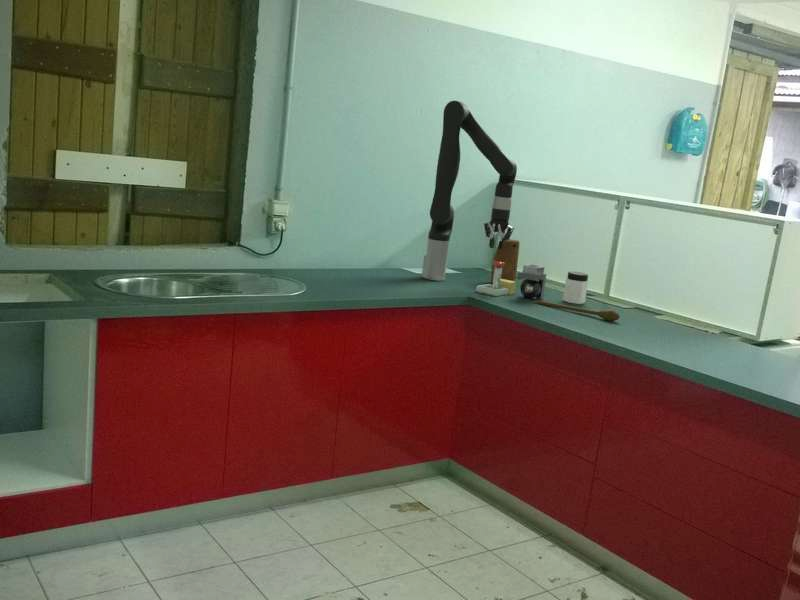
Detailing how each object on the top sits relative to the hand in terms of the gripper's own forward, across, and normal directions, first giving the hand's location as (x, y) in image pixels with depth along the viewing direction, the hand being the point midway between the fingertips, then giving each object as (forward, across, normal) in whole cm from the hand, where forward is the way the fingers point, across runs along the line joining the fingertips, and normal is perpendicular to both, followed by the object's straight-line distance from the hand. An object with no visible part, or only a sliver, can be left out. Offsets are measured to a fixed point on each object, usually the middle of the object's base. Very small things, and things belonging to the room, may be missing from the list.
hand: (495, 248), depth 335 cm
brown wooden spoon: (+18, -43, +7) cm, 47 cm away
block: (+17, +4, -16) cm, 24 cm away
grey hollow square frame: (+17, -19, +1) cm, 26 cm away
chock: (+17, -7, 0) cm, 19 cm away
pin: (+17, -6, +6) cm, 19 cm away
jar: (+17, -32, -14) cm, 39 cm away
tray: (+17, -6, +8) cm, 20 cm away
